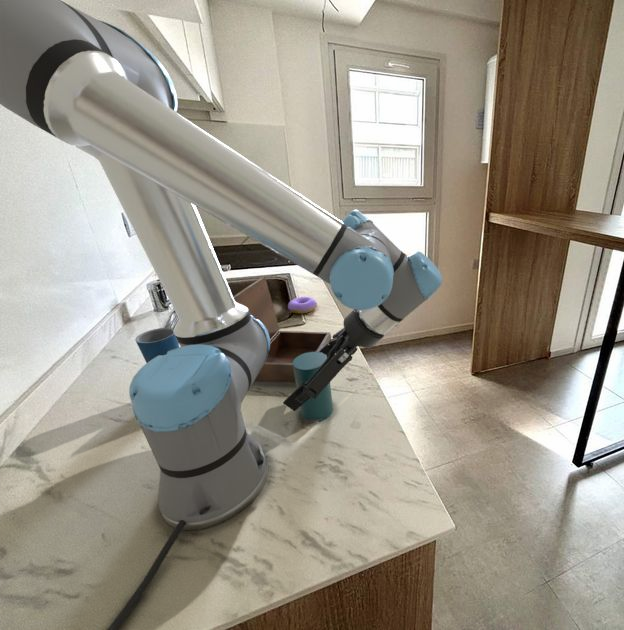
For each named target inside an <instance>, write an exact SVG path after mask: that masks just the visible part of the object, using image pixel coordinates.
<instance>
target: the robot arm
mask: <svg viewBox="0 0 624 630" xmlns="http://www.w3.org/2000/svg"><path fill="white" fill-rule="evenodd" d="M0 105H1V106H2V107H4V108H5V109H7V110H8V111H10V112H12V113H13V114H15V115H17V116H18V117H20V118H21V119H22V120H25V121H27V122H28V123H30V124H31V125H33V126H35V127H37V128H39V129H41V130H42V131H45V132H46V133H47V134H49V135H51V136H52V137H54V138H56V139H58V140H60V141H62V142H63V143H66V144H68V145H70V146H74V147H76V148H77V149H79V150H80V151H82V152H84V153H86V154H88V155H90V156H92V157H93V158H95V159H96V160H97V161H98V162H99V163H100V166H101V167H102V169H103V172H104V173H105V175H106V177H107V180H108V181H109V183H110V186H111V187H112V190H113V191H114V193H115V196H116V197H117V199H118V202H119V203H120V205H121V207H122V210H123V211H124V213H125V215H126V217H127V219H128V221H129V223H130V225H131V227H132V228H133V231H134V232H135V235H136V237H137V239H138V241H139V243H140V245H141V247H142V249H143V250H144V253H145V255H146V257H147V258H148V260H149V263H150V264H151V267H152V268H153V270H154V273H155V275H156V277H157V278H158V280H159V283H160V285H161V287H162V288H163V290H164V292H165V294H166V296H167V298H168V300H169V302H170V304H171V306H172V308H173V310H174V312H175V314H176V316H177V318H178V321H177V323H176V324H175V327H174V328H173V329H174V331H173V332H174V334H175V336H176V338H177V340H178V344H179V348H176V349H173V350H170V351H168V352H167V354H166V355H163V356H162V355H159V356H157V357H155V358H154V359H152V360H151V361H149V362H148V363H146V362H145V364H144V365H143V366H141V367H140V368H139V370H138V371H137V372H136V373H135V375H134V376H133V378H132V380H131V382H130V385H129V391H128V392H129V393H128V394H129V399H130V403H131V405H132V412H133V413H132V414H133V415H134V418H135V420H136V422H137V423H138V424H139V426H140V428H141V430H142V433H143V435H144V437H145V439H146V442H147V444H148V447H149V448H150V450H151V452H152V454H153V456H154V459H155V461H156V463H157V465H158V468H159V470H160V473H159V482H158V483H159V485H158V494H157V498H158V499H157V501H158V509H159V511H160V513H161V515H162V517H163V519H164V521H165V522H166V523H167V524H168V525H169V526H171V527H173V528H174V529H173V531H172V533H171V534H170V536H169V537H168V539H167V540H166V542H165V544H164V545H163V547H162V548H161V550H160V552H159V554H158V555H157V557H156V558H155V560H154V562H153V564H152V565H151V567H150V568H149V570H148V572H147V573H146V574H145V576H144V578H143V579H142V581H141V582H140V584H139V586H138V587H137V589H136V590H135V591H134V593H133V594H132V595H131V597H130V598H129V600H128V601H127V603H126V604H125V605H124V607H123V608H122V609H121V611H120V612H119V613H118V615H117V616H116V617H115V619H114V620H113V621H112V623H110V625H109V626H108V627H107V629H106V630H119V628H120V627H121V625H122V624H123V623H124V621H125V620H126V619H127V617H128V616H129V614H130V613H131V612H132V610H133V609H134V608H135V606H136V604H137V603H138V602H139V601H140V599H141V597H142V596H143V594H144V593H145V591H146V590H147V589H148V587H149V585H150V584H151V582H152V581H153V579H154V578H155V576H156V575H157V573H158V571H159V569H160V568H161V565H162V564H163V562H164V560H165V559H166V557H167V555H168V554H169V552H170V550H171V549H172V547H173V546H174V544H175V542H176V540H177V539H178V537H179V535H180V534H181V532H182V531H183V530H184V531H196V530H197V531H198V530H203V529H207V528H210V527H213V526H216V525H219V524H220V523H223V522H225V521H227V520H229V519H231V518H233V517H234V516H236V515H237V514H238V513H240V512H241V511H243V510H244V509H245V508H247V506H249V505H250V504H251V503H252V502H253V501H254V500H255V498H256V497H257V496H258V495H259V493H260V492H261V491H262V490H263V488H264V485H265V483H266V480H267V479H268V475H269V465H268V460H267V456H266V454H265V452H264V450H263V448H262V447H263V446H262V445H261V444H260V443H259V442H256V441H255V439H253V437H252V436H251V435H250V434H249V433H248V432H247V428H246V424H245V421H244V417H243V413H242V403H243V402H244V399H245V397H246V396H247V394H248V393H249V390H250V389H251V387H252V386H253V383H254V382H255V381H254V380H255V378H256V377H257V375H258V373H259V372H260V370H261V368H262V367H263V365H264V364H265V362H266V360H267V356H268V353H269V349H270V340H271V339H270V337H269V333H268V331H267V329H266V327H265V326H264V325H263V323H262V322H261V321H260V320H258V319H255V318H253V316H252V315H250V312H249V310H248V308H247V307H246V306H244V305H242V304H239V303H237V302H235V300H234V298H233V296H234V295H233V293H232V290H231V288H230V286H229V283H228V280H227V279H226V276H225V274H224V271H223V269H222V267H221V264H220V262H219V259H218V257H217V254H216V252H215V250H214V247H213V245H212V243H211V239H210V237H209V235H208V233H207V230H206V227H205V225H204V223H203V221H202V218H201V215H200V213H199V211H198V209H200V210H202V211H203V212H205V213H206V214H209V215H210V216H212V217H213V218H215V219H217V220H219V221H220V222H222V223H224V224H226V225H228V226H229V227H231V228H233V229H234V230H236V231H238V232H240V233H241V234H243V235H245V236H246V237H248V238H250V239H252V240H253V241H255V242H256V243H258V244H260V245H262V246H264V247H265V248H267V249H268V250H271V251H273V252H274V253H275V254H278V255H279V256H281V257H283V258H284V259H286V260H287V261H290V262H291V263H293V264H295V265H297V266H298V267H300V268H302V269H303V270H305V271H307V272H309V273H310V274H312V275H314V276H316V277H317V278H319V279H321V280H322V281H324V282H325V283H327V284H329V285H330V288H331V291H332V293H333V295H334V297H335V298H336V299H337V300H338V302H340V304H342V305H343V306H344V307H347V308H349V309H351V310H352V311H351V312H350V313H348V315H346V316H345V317H344V319H343V327H342V328H341V329H340V330H338V331H337V332H336V333H333V335H332V336H331V340H330V341H329V345H328V344H326V345H325V346H324V347H323V348H322V349H321V350H320V351H319V352H320V353H323V354H325V355H326V356H327V359H326V360H325V361H324V363H323V364H322V365H321V366H320V367H319V369H318V370H317V371H316V372H315V373H314V374H313V376H312V377H311V378H310V379H309V380H308V382H306V381H305V382H303V381H302V382H301V386H300V387H299V388H298V389H297V388H296V389H295V390H294V391H293V392H292V393H291V394H290V395H289V396H287V398H285V400H284V401H283V402H282V404H283V405H285V406H286V407H287V408H289V409H290V410H291V411H294V412H296V411H297V410H298V409H300V406H301V405H303V404H304V403H305V402H306V401H307V400H308V399H309V398H313V399H315V398H317V396H318V395H319V394H320V393H321V392H322V390H323V389H324V388H325V387H326V386H327V385H328V384H329V383H330V384H331V382H332V380H333V379H335V378H336V376H337V375H338V374H339V373H340V372H341V371H342V369H343V368H344V367H346V365H348V364H349V363H350V362H351V361H352V360H353V357H354V356H353V355H354V354H355V353H356V352H357V351H358V347H360V348H361V347H362V348H366V349H371V348H373V347H374V346H375V345H376V344H378V342H380V341H381V340H383V338H384V337H385V335H387V334H388V333H390V332H391V331H392V330H393V328H399V327H400V326H401V322H402V321H403V320H404V319H405V318H407V317H408V316H409V315H410V314H411V313H413V312H414V311H415V310H416V309H417V308H419V307H420V306H421V305H422V304H423V303H424V302H426V301H428V300H429V298H430V297H431V296H433V294H434V293H436V292H437V290H438V289H439V288H440V287H441V286H442V284H443V275H442V273H441V272H440V270H439V269H438V267H437V266H436V264H435V263H434V262H433V261H432V260H431V259H430V258H429V257H428V256H426V255H425V254H424V253H423V252H421V251H417V250H416V251H414V252H412V253H411V254H409V255H407V254H406V253H404V252H403V251H402V250H401V249H400V248H399V247H398V246H397V245H395V243H394V242H392V241H391V240H390V239H389V238H388V237H387V235H385V234H384V232H382V231H381V230H380V228H378V227H377V226H376V225H375V224H374V221H373V220H371V219H369V218H368V217H366V215H364V214H363V213H362V212H361V211H360V210H358V209H353V210H351V211H350V212H347V213H348V214H346V215H345V217H343V219H341V220H340V219H338V218H337V217H335V216H334V215H332V214H331V213H329V212H328V211H327V210H325V209H323V208H321V207H320V206H319V205H318V204H316V203H314V202H312V201H311V200H310V199H308V198H307V197H305V196H304V195H303V194H301V193H299V192H297V191H296V190H295V189H293V188H291V187H290V186H289V185H287V184H285V183H284V182H283V181H282V180H279V179H278V178H277V177H275V176H273V175H271V174H270V173H269V172H267V170H264V169H263V168H261V167H260V166H258V165H257V164H255V163H254V162H252V161H251V160H249V159H248V158H246V157H245V156H243V155H242V154H240V153H238V152H237V151H236V150H235V149H233V148H231V147H229V146H228V145H226V144H225V143H223V141H221V140H219V139H218V138H216V137H214V136H213V135H212V134H210V133H208V132H207V131H205V130H204V129H202V128H201V127H199V126H198V125H196V124H195V123H193V122H192V121H190V120H189V119H188V118H186V117H185V116H183V115H181V114H180V113H178V112H177V111H178V96H177V91H176V87H175V85H174V82H173V80H172V78H171V76H170V74H169V72H168V71H167V69H166V68H165V66H164V65H163V64H162V62H161V61H160V60H159V59H158V57H156V55H155V54H154V53H153V52H151V51H150V50H149V49H148V48H147V47H146V46H145V45H143V44H142V43H140V41H138V40H137V39H135V38H134V37H133V36H131V35H129V34H128V33H127V32H125V31H124V30H122V29H121V28H119V27H117V26H116V25H113V24H110V23H108V22H105V21H102V20H99V19H97V18H95V17H93V16H91V15H89V14H87V13H86V12H84V11H81V10H79V9H78V8H76V7H73V6H72V5H70V4H68V3H66V2H65V1H63V0H0ZM197 208H198V209H197Z"/></svg>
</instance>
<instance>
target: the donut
mask: <svg viewBox="0 0 624 630" xmlns="http://www.w3.org/2000/svg"><path fill="white" fill-rule="evenodd" d="M317 307H318V302H317V299H315V298H313V297H310V296H300V297H296V298H293V299H292V300H290V301H289V302H288V304H287V309H288V310H289V311H290V312H291V313H294V314H306V313H310V312H312V311H314V310H315V309H316V308H317Z"/></svg>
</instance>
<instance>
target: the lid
mask: <svg viewBox="0 0 624 630" xmlns="http://www.w3.org/2000/svg"><path fill="white" fill-rule="evenodd" d="M233 298H234V300H235V302H237V303H239V304H242V305H244V306H246V307H247V308H248V310H249V312H250V315H252V316H253V318H255V319H258V320H260V321H261V322H262V323H263V325H264V326H265V327H266V329H267V331H268V333H269V337H270V340H271V339H272V338H273V337H274V336H275V335H276V333H277V332H278V331H281V330H280V329H281V328H280V325H279V322H278V318H277V314H276V311H275V307H274V304H273V300H272V296H271V293H270V290H269V285H268V282H267V279H266V276H261V277H260V278H258V279H257V280H255V281H254V282H252V283H251V284H249V285H248V286H246V287H245V288H243V289H242V290H240V291H239V292H238V293H236V294H235V295H233Z"/></svg>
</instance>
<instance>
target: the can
mask: <svg viewBox="0 0 624 630" xmlns="http://www.w3.org/2000/svg"><path fill="white" fill-rule="evenodd" d="M326 359H327V356H326V355H325V354H323V353H320V352H308V353H304V354H301V355H299V356H298V357H296V358H295V359H294V360H293V369H294V375H295V381H296V383H295V386H296V390H297V389H298V388H299V387H300V386H301V382H302V381H303V382H305V381H306V382H308V380H309V379H310V378H311V377H312V376H313V374H314V373H315V372H316V371H317V370H318V369H319V367H320V366H321V365H322V364H323V363H324V361H325V360H326ZM331 386H332V385H331V382H330V383H329V384H328V385H327V386H326V387H325V388H324V389H323V390H322V392H321V393H320V394H319V395H318V396H317V398H315V399H313V398H309V399H308V400H307V401H306V402H305V403H304V404H303V405H301V406H300V407H299V410H300V414H301V416H302V417H303V418H304V419H305V420H312V421H316V420H318V421H317V423H320V422H323V421H325V420H327V419H328V418H330V417H331V415H332V414H333V413H334V404H333V403H334V402H333V396H332V394H333V393H332V387H331Z"/></svg>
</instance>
